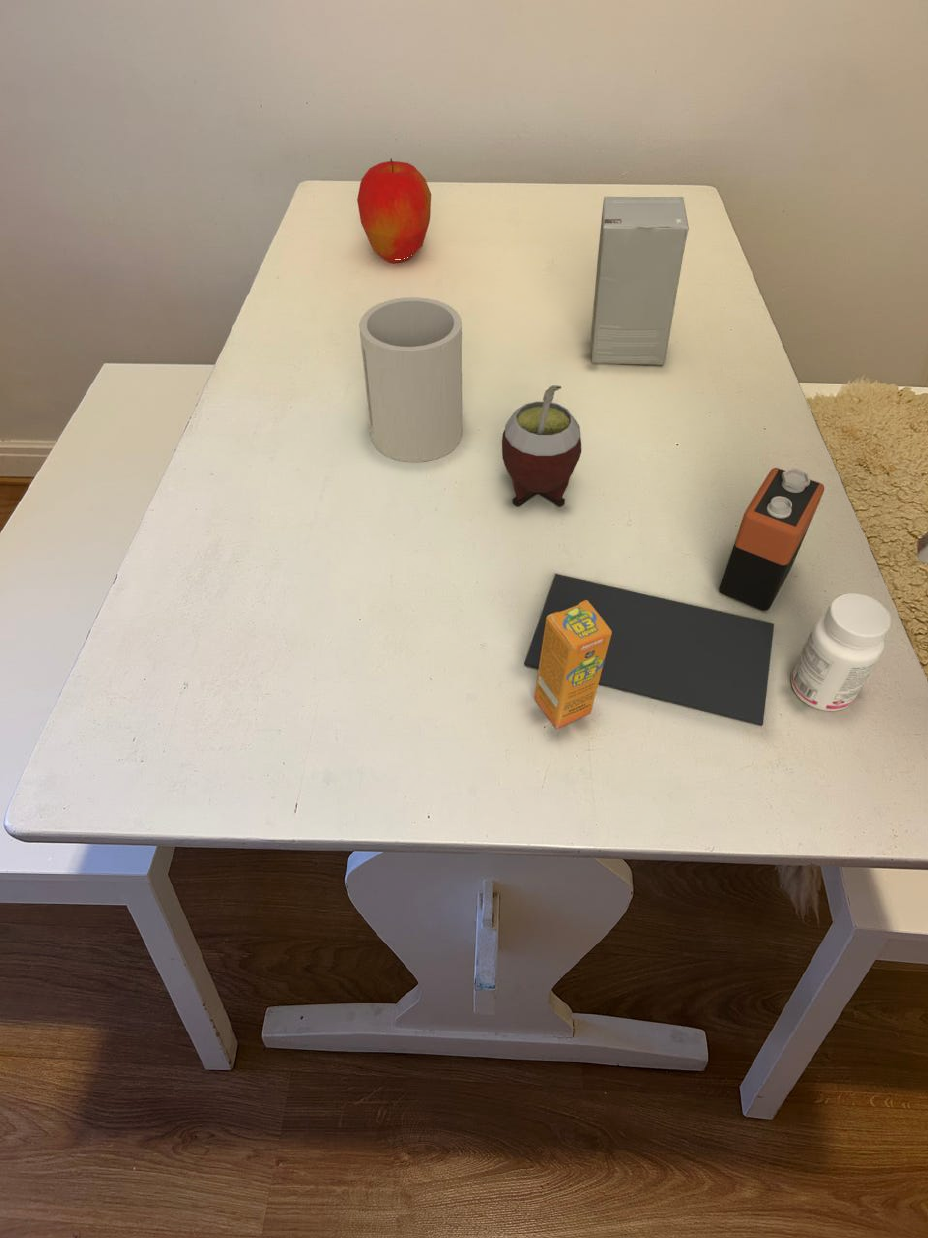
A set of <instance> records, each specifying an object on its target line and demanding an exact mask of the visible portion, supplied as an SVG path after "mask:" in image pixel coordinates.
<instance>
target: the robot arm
mask: <svg viewBox="0 0 928 1238" xmlns="http://www.w3.org/2000/svg"><path fill="white" fill-rule="evenodd" d="M916 555H917V560H919V561H920V562H922V563H923V564H926V565H928V531H927V532H925V534H923V536H921V537H920V538H919V540H917V542H916Z"/></svg>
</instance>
